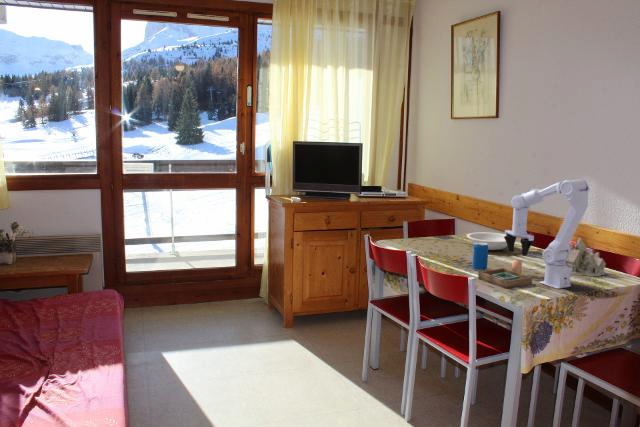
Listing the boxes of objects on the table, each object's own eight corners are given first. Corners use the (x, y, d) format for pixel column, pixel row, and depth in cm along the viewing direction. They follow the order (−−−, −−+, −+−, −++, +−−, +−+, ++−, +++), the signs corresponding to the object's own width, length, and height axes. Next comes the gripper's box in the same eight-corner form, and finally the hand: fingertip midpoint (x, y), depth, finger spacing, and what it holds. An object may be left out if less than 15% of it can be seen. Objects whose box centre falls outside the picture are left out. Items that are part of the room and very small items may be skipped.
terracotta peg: (523, 274, 242) (524, 261, 241) (516, 276, 240) (517, 262, 239) (516, 272, 245) (517, 259, 244) (509, 273, 244) (510, 260, 243)
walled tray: (531, 284, 228) (532, 277, 227) (506, 288, 222) (506, 281, 221) (502, 274, 242) (503, 268, 241) (478, 278, 236) (478, 271, 235)
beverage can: (470, 267, 253) (471, 241, 252) (484, 267, 253) (486, 242, 251) (474, 271, 247) (475, 245, 245) (488, 271, 247) (490, 245, 245)
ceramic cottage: (553, 269, 251) (558, 237, 248) (580, 267, 257) (586, 236, 254) (581, 280, 237) (586, 246, 234) (609, 278, 243) (615, 245, 240)
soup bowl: (523, 250, 288) (524, 238, 287) (493, 256, 274) (494, 243, 273) (486, 242, 307) (487, 230, 306) (456, 247, 294) (457, 235, 293)
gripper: (539, 225, 235) (537, 256, 237) (513, 219, 247) (511, 249, 250) (527, 226, 231) (525, 258, 234) (501, 220, 244) (500, 251, 246)
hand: (517, 253), depth 241 cm, fingers open, 7 cm apart
